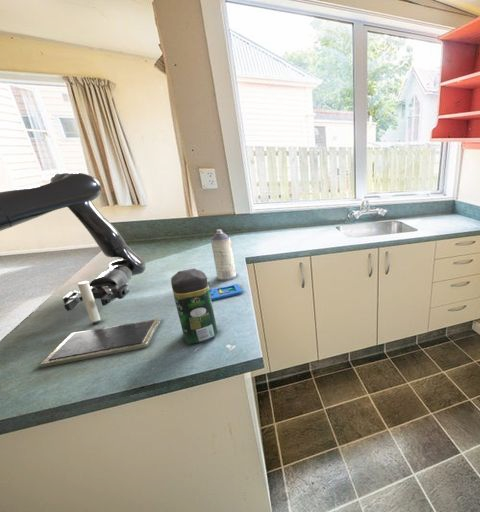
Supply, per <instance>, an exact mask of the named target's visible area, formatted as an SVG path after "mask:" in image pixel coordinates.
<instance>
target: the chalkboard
mask: <svg viewBox="0 0 480 512" xmlns="http://www.w3.org/2000/svg"><path fill="white" fill-rule="evenodd" d="M161 320H162V319H161V318H154V319H148V320H142V321H136V322H130V323H124V324H118V325H112V326H106V327H100V328H93V329H87V330H81V331H74V332H71V333H70V334H69V335H68V336H67V337H66V338H65V339H64V340H63V341H61V343H60V344H59V345H58V346H57V347H56V348H55V349H54V350H53V351H52V352H51V353H50V354H49V355H48V356H47V357H46V358H45V359H43V361H42V362H41V363H40V367H41V368H47V367H52V366H57V365H58V366H59V365H62V364H67V363H72V362H78V361H83V360H88V359H93V358H100V357H105V356H108V355H109V356H110V355H114V354H119V353H125V352H129V351H130V352H131V351H135V350H140V349H146V348H148V347H149V345H150V342H151V340H152V338H153V337H154V335H155V333H156V331H157V329H158V328H159V325H160V324H161V322H162V321H161Z"/></svg>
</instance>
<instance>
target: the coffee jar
mask: <svg viewBox="0 0 480 512" xmlns="http://www.w3.org/2000/svg"><path fill="white" fill-rule="evenodd" d="M170 279H171V280H170V282H171V283H170V285H171V289H172V294H173V298H174V303H175V307H176V311H177V315H178V319H179V323H180V326H181V331H182V334H183V338H184V340H185V341H186V343H187V344H200V343H205V342H207V341H210V340H211V339H213V338H214V337H216V336H217V335H218V327H217V326H218V325H217V321H216V318H215V312H214V307H213V302H212V300H211V297H210V292H209V290H210V287H209V282H208V277H207V275H206V274H205V272H203V270H199V269H196V268H190V269H184V270H179V271H177V272H176V273H175V274H174V275H172V277H171V278H170Z"/></svg>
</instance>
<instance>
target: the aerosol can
mask: <svg viewBox="0 0 480 512" xmlns="http://www.w3.org/2000/svg"><path fill="white" fill-rule="evenodd" d="M210 245H211V249H212V255H213V261H214V266H215V273H216V277H217V281H221V282H225V281H230V280H232V279H233V280H234V279H235V278H236V277H237V273H236V266H235V261H234V260H235V259H234V255H233V248H232V241H231V238H230V235H227V233H225V232H224V231H223V229H216V233H214V235H212V237H210Z"/></svg>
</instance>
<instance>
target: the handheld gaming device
mask: <svg viewBox="0 0 480 512" xmlns="http://www.w3.org/2000/svg"><path fill="white" fill-rule="evenodd" d="M209 292H210V297H211V301H216V300H220V299H224V298H228V297H232V296H236V295H241V294H243V289H242V288H241V286H239V284H238V283H235V284H230V285H226V286H220V287H216V288H211V289H209Z"/></svg>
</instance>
